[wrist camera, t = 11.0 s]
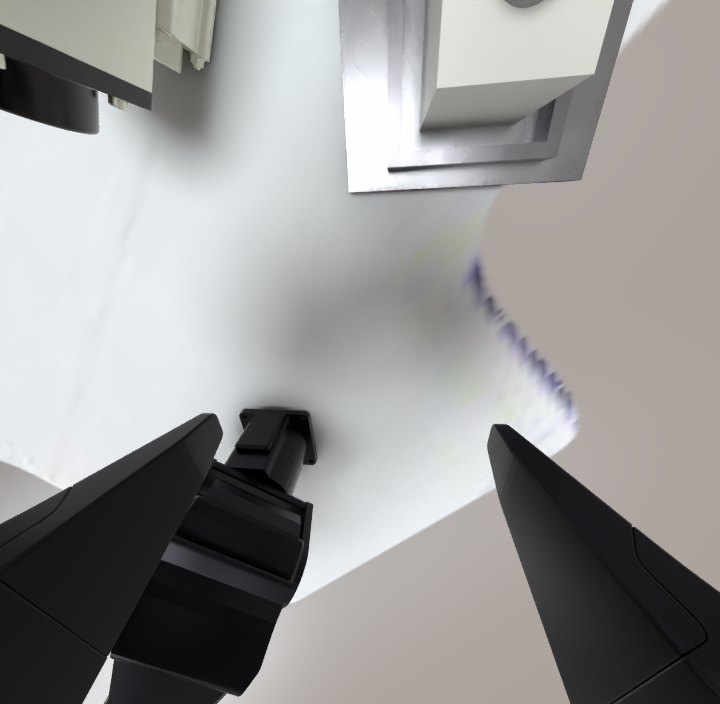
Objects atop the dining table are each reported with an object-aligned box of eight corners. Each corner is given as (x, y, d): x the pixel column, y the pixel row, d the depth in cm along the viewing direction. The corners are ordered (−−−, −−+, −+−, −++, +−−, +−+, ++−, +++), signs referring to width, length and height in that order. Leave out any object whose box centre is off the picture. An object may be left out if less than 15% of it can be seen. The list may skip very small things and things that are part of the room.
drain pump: (513, 124, 13) (624, 54, 7) (419, 131, 14) (443, 72, 7) (542, -37, 11) (749, -362, 5) (426, -21, 11) (470, -299, 5)
